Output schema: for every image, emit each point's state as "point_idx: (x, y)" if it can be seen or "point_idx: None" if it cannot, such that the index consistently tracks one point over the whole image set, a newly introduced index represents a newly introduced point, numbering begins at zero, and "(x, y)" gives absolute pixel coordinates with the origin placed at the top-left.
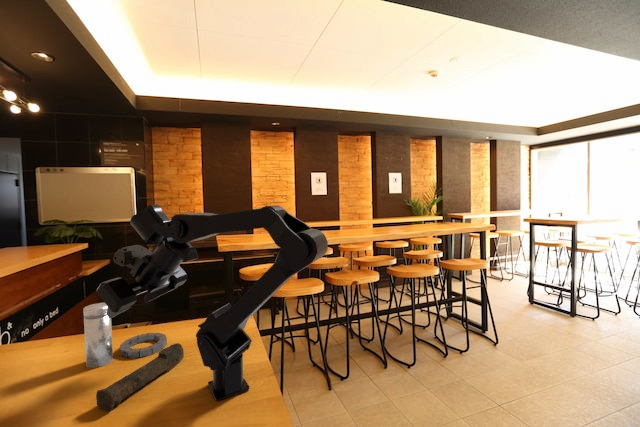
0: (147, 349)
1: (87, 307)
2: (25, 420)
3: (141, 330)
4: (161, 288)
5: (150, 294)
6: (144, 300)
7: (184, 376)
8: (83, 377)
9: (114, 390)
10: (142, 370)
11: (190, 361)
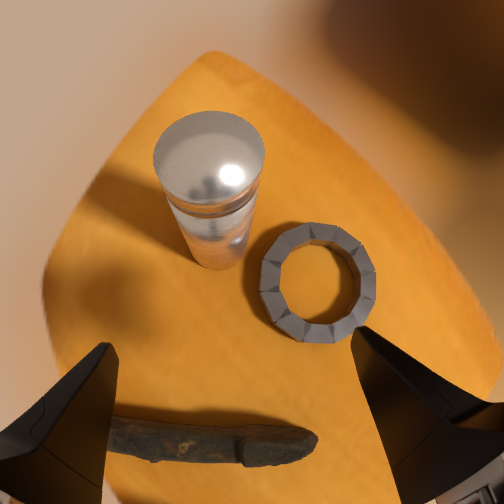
0: (291, 335)
1: (185, 127)
2: (45, 308)
3: (373, 192)
4: (410, 468)
5: (378, 384)
6: (353, 334)
7: (245, 488)
8: (155, 273)
9: None
10: (172, 454)
11: (303, 457)
